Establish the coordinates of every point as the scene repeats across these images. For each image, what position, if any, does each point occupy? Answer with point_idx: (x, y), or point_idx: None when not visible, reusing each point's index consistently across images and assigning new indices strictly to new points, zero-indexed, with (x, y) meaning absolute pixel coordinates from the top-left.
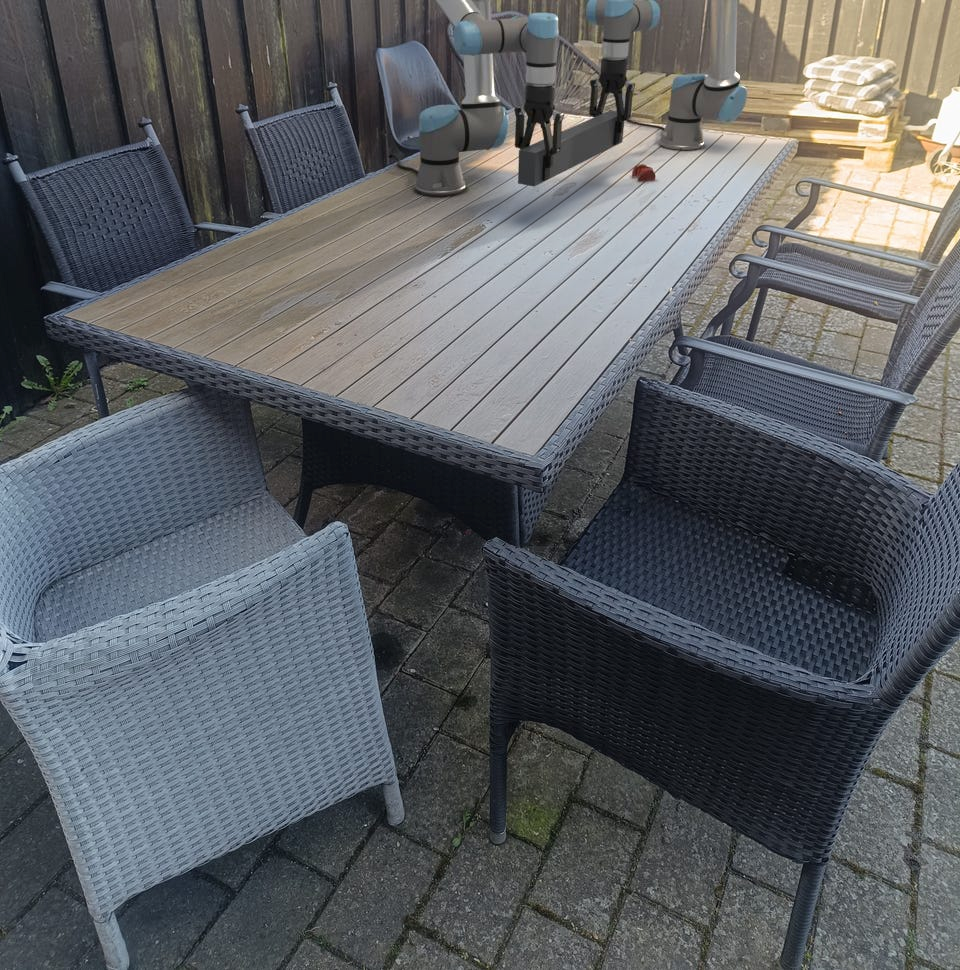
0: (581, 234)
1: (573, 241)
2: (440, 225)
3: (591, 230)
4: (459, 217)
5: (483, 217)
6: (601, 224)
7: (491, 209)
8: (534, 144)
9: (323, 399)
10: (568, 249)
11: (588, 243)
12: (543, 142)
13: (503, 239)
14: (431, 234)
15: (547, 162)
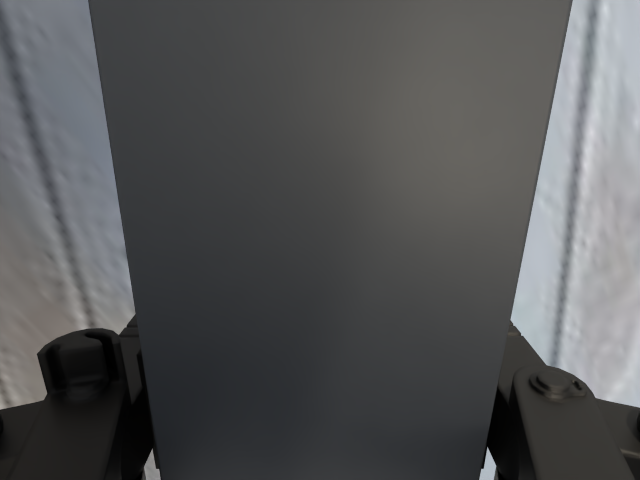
0: (565, 199)
1: (557, 288)
2: (26, 387)
3: (595, 126)
4: (7, 281)
5: (83, 230)
6: (623, 10)
7: (28, 109)
8: (186, 393)
9: None
10: (564, 365)
11: (622, 278)
12: (244, 179)
13: None
14: None
15: None
